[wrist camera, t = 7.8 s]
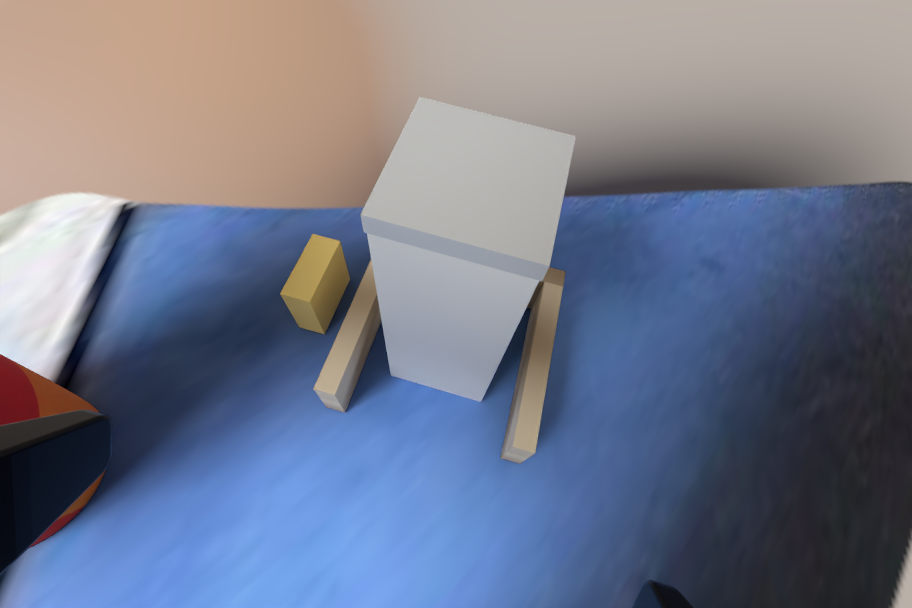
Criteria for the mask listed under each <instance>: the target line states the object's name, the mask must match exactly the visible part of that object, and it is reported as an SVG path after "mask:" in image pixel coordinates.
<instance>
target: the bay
mask: <svg viewBox="0 0 912 608" xmlns="http://www.w3.org/2000/svg"><path fill="white" fill-rule="evenodd" d="M565 272H566V271H562V270H558V269H554V268H551V267H549V268H548V270H547V272H546V274H545V276H544V278H543V281H539V283H538V285H537V287H536V289H535V291H534V293H533V295H532V297H531V299H530V301H529V303H528V305H527V307H526V308H529V309H531V311H530V316H529V321H528V326H527V331H526V336H525V341H524V345H523V350H522V355H521V360H520V365H519V370H518V375H517V379H516V384H515V389H514V394H513V399H512V404H511V409H510V414H509V418H508V423H507V428H506V433H505V438H504V443H503V448H502V453H501V457H500V458H502V459H505V460H508V461H512V462H515V463H519V464H520V463H522V462H523V461H525V460H526V459H528V458H529V457H531V456H532V455H533V454H535V451H536V445H537V439H538V433H539V427H540V422H541V416H542V410H543V404H544V398H545V392H546V386H547V380H548V374H549V368H550V362H551V356H552V350H553V344H554V338H555V332H556V326H557V320H558V314H559V308H560V302H561V296H562V290H563V284H564V278H565ZM381 321H382V320H381V314H380V308H379V303H378V297H377V291H376V285H375V279H374V273H373V267H372V261H370V263H369V265H368V267H367V270H366V272H365V274H364V276H363V278H362V281H361V283H360V285H359V287H358V290H357V292H356V294H355V296H354V299H353V301H352V303H351V305H350V308H349V310H348V312H347V314H346V317H345V319H344V321H343V323H342V326H341V328H340V330H339V332H338V335H337V337H336V339H335V341H334V344H333V346H332V348H331V350H330V353H329V355H328V357H327V359H326V362H325V364H324V366H323V368H322V371H321V373H320V375H319V377H318V380H317V382H316V384H315V386H314V390H315V392H316V393H317V395H318V396H319V397H320V399H321V400H322V402H323V403H324V405H325V406H326V407H327V408H331V409H334V410H338V411H341V412H344V413H345V412H346V409H347V407H348V404H349V402H350V399H351V397H352V394H353V392H354V389H355V387H356V384H357V382H358V379H359V376H360V374H361V371H362V369H363V366H364V364H365V361H366V359H367V356H368V354H369V351H370V349H371V346H372V344H373V341H374V339H375V336H376V334H377V331H378V329H379V326H380V323H381Z"/></svg>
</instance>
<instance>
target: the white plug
mask: <svg viewBox="0 0 912 608" xmlns="http://www.w3.org/2000/svg"><path fill="white" fill-rule="evenodd" d="M575 138H576V136H573V135H569V134H564V133H561V132H557V131H553V130H549V129H545V128H541V127H537V126H533V125H529V124H525V123H521V122H517V121H513V120H509V119H506V118H502V117H498V116H494V115H489V114H486V113H482V112H478V111H474V110H470V109H466V108H462V107H458V106H454V105H450V104H446V103H442V102H438V101H434V100H430V99H426V98H422V97H419V99H418V101H417V103H416V106H415V107H414V110H413V111H412V113H411V116H410V117H409V119H408V121H407V123H406V125H405V127H404V129H403V131H402V133H401V135H400V137H399V139H398V141H397V143H396V145H395V147H394V149H393V151H392V153H391V155H390V157H389V160H388V161H387V163H386V165H385V167H384V169H383V171H382V173H381V175H380V177H379V179H378V181H377V183H376V185H375V187H374V189H373V191H372V193H371V195H370V197H369V199H368V201H367V203H366V205H365V207H364V209H363V211H362V213H361V220H362V226H363V232H364V233H367V237H368V243H369V249H370V255H371V261H372V267H373V273H374V279H375V285H376V291H377V297H378V303H379V308H380V314H381V320H382V326H383V332H384V338H385V344H386V350H387V356H388V362H389V368H390V374H391V376H394V377H398V378H401V379H404V380H408V381H411V382H414V383H418V384H421V385H425V386H428V387H431V388H435V389H438V390H442V391H445V392H448V393H452V394H455V395H459V396H462V397H465V398H469V399H472V400H476V401H479V402H481V401H482V399H483V397H484V395H485V393H486V391H487V389H488V387H489V384H490V382H491V380H492V378H493V376H494V374H495V372H496V370H497V368H498V366H499V364H500V362H501V359H502V357H503V355H504V353H505V351H506V349H507V347H508V345H509V343H510V341H511V339H512V337H513V335H514V332H515V330H516V328H517V326H518V324H519V322H520V320H521V318H522V316H523V314H524V312H525V310H526V307H527V305H528V303H529V301H530V299H531V297H532V295H533V293H534V291H535V289H536V287H537V285H538V283H539V281H543V278H544V276H545V274H546V272H547V270H548V268H549V266H550V261H551V257H552V252H553V247H554V242H555V237H556V232H557V227H558V222H559V217H560V212H561V207H562V202H563V197H564V192H565V187H566V182H567V177H568V172H569V167H570V162H571V157H572V153H573V147H574V143H575Z"/></svg>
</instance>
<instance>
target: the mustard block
mask: <svg viewBox="0 0 912 608" xmlns="http://www.w3.org/2000/svg"><path fill="white" fill-rule="evenodd" d="M349 281H350V277H349V273H348V269H347V265H346V261H345V258H344V254H343V250H342V246H341V242H340V241H338V240H334V239H330V238H327V237H323V236H319V235H315V234H312V236H311V238H310V240H309V242H308V243H307V245H306V247H305V249H304V251H303V253H302V254H301V256H300V258H299V260H298V262H297V263H296V265H295V267H294V269H293V271H292V273H291V274H290V276H289V278H288V280H287V282H286V284H285V285H284V287H283V289H282V291H281V293H280V295H281V296H282V298H283V300H284V302H285V303H286V305H287V307H288V309H289V310H290V312H291V314H292V316H293V317H294V319H295V321H296V323H297V324H298V326H299V327H300V328H304V329H307V330H311V331H314V332H318V333H322V334H325V333H326V330H327V328H328V326H329V324H330V322H331V320H332V317H333V315H334V313H335V311H336V309H337V307H338V304H339V302H340V300H341V298H342V296H343V294H344V292H345V289H346V287H347V285H348V283H349Z"/></svg>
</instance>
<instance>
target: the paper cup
mask: <svg viewBox="0 0 912 608" xmlns="http://www.w3.org/2000/svg"><path fill="white" fill-rule="evenodd" d="M76 410H91V411H94V412H98V413H100V412H99V411H98V410H97V409H96V408H95V407H93V406H92V405H91V404H90V403H88V402H87V401H85V400H84V399H82V398H80V397H79V396H77V395H75V394H74V393H72V392H70V391H68V390H66V389H65V388H63V387H61V386H59V385H57V384H56V383H54V382H52V381H50V380H48V379H46V378H44V377H42V376H41V375H39V374H37V373H35V372H33V371H31V370H29V369H27V368H25V367H24V366H22V365H20V364H18V363H16V362H14V361H12V360H10V359H8V358H7V357H5V356H3V355H1V354H0V425H5V424H10V423H15V422H20V421H25V420H31V419H36V418H41V417H46V416H51V415H56V414H61V413H66V412H71V411H76ZM105 471H106V470H105ZM105 471H104V472H103V474H102V475H101V476H100V477H99V478H98V479H97V480H96V481H95V482H94V483H93V484H92V485H91V486H90V487H89V488H88V489H87V490H86V491H85V492H84V493H83V494H82V495H81V496H80V497H79V498H78V499H77V500H76V501H75V502H74V503H73V504H72V505H71V506H70V507H69V508H68V509H67V510H66V511H65V512H64V513H63V514H62V515H61V516H60V517H59V518H58V519H57V520H56V521H55V522H54V523H53V524H52V525H51V526H50V527H49V528H48V529H47V530H46V531H45V532H44V533H43V534H42V535H41V536H40V537H39V538H38V539H37V540H36V541H35V542H34V543H33V544H32V545H31V546H30V547H32V546H34V545H36V544H38V543H40V542H42V541H44V540H45V539H47V538H49V537H50V536H52V535H53V534H55V533H56V532H58V531H59V530H60V529H61V528H63V527H64V526H65V525H66V524H67V523H69V522H70V521H71V520H72V519H73V518H74V517H75V516H76V515H77V514H78V513H79V512H80V511H81V510H82V509H83V507H84V506H85V505H86V504H87V503H88V501H89V500H90V499H91V497H92V496H93V494H94V493H95V491H96V490H97V488H98V486H99V484H100V482H101V480H102V478H103V476H104V474H105ZM30 547H29V548H30Z"/></svg>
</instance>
